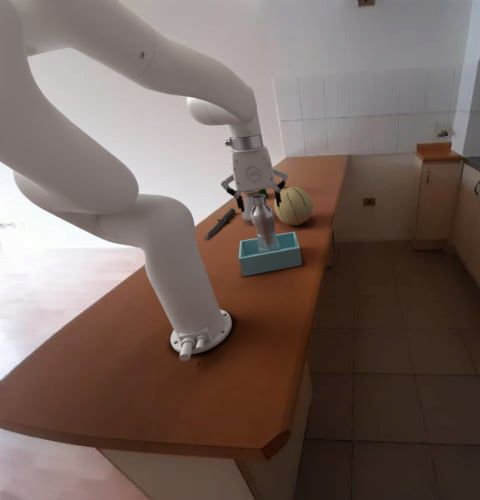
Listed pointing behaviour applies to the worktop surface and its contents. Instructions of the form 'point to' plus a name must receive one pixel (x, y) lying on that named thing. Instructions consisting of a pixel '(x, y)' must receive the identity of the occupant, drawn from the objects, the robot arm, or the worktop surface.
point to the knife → (221, 222)
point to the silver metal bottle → (264, 224)
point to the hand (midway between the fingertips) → (261, 207)
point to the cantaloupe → (294, 206)
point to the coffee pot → (249, 205)
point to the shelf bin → (269, 255)
